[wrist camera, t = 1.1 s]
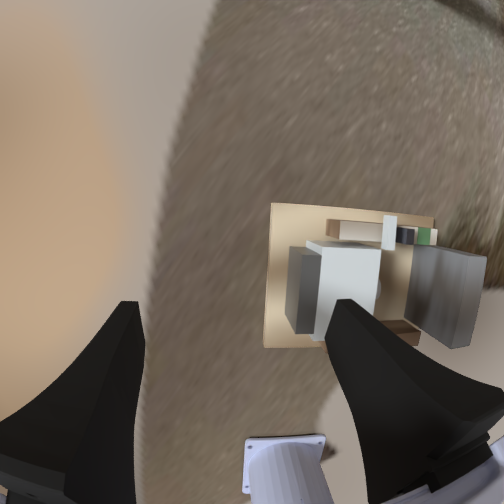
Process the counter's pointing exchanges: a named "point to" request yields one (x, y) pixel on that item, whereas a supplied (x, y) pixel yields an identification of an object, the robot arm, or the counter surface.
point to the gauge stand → (380, 275)
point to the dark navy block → (405, 235)
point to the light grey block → (332, 279)
